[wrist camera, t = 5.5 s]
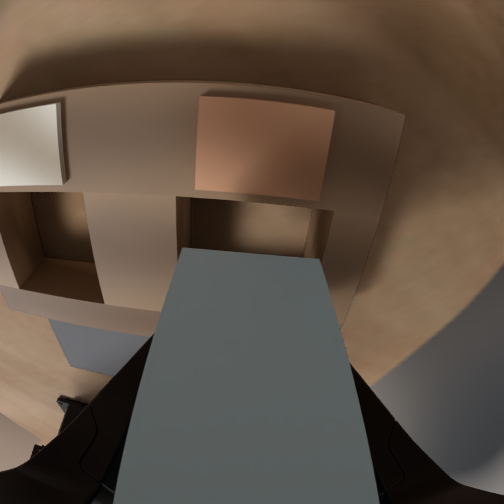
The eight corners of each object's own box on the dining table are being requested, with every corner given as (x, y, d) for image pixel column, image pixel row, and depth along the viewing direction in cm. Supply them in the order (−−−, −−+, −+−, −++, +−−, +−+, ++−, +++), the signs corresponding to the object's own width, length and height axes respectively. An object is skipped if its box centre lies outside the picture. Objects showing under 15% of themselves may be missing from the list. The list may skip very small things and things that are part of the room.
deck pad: (178, 382, 21) (178, 386, 21) (72, 362, 21) (70, 366, 20) (167, 290, 16) (166, 294, 16) (35, 272, 16) (31, 276, 15)
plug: (294, 347, 11) (313, 552, 5) (186, 339, 11) (155, 546, 5) (319, 258, 9) (384, 539, 3) (182, 247, 9) (107, 536, 2)
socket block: (322, 308, 17) (333, 354, 14) (31, 277, 16) (6, 311, 13) (373, 104, 11) (409, 116, 8) (-3, 102, 10) (-47, 118, 7)
